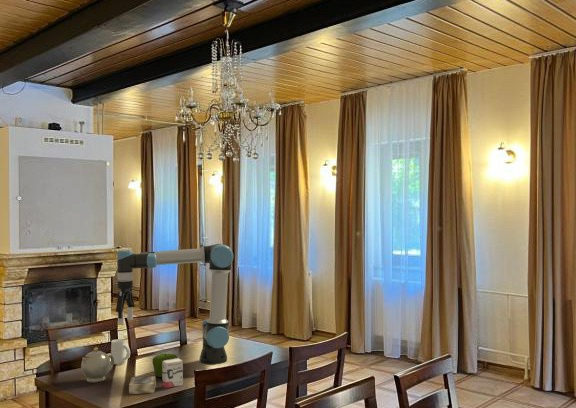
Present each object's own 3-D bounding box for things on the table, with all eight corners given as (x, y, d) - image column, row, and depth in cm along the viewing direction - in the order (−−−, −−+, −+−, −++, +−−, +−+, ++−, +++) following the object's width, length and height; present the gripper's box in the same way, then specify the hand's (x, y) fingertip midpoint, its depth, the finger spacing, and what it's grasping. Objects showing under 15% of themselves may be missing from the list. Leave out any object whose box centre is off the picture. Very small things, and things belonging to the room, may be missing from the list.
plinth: (155, 384, 272) (155, 375, 273) (154, 392, 260) (154, 382, 260) (131, 385, 271) (131, 376, 271) (129, 394, 258) (129, 384, 258)
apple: (150, 374, 290) (150, 352, 290) (174, 371, 295) (174, 349, 295) (155, 381, 278) (155, 357, 279) (180, 377, 283) (180, 354, 283)
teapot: (91, 386, 270) (91, 351, 270) (74, 382, 278) (74, 348, 278) (122, 378, 284) (122, 344, 285) (105, 373, 292) (105, 341, 293)
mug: (124, 365, 308) (124, 343, 308) (107, 363, 314) (107, 341, 314) (135, 362, 315) (134, 340, 316) (118, 360, 321) (118, 338, 321)
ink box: (166, 388, 266) (165, 362, 266) (162, 385, 270) (161, 360, 270) (183, 385, 271) (183, 360, 271) (179, 382, 275) (178, 358, 275)
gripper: (126, 278, 305) (126, 318, 305) (108, 283, 280) (109, 327, 280) (140, 277, 305) (140, 317, 304) (123, 283, 280) (124, 326, 279)
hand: (125, 322), depth 292 cm, fingers open, 13 cm apart
